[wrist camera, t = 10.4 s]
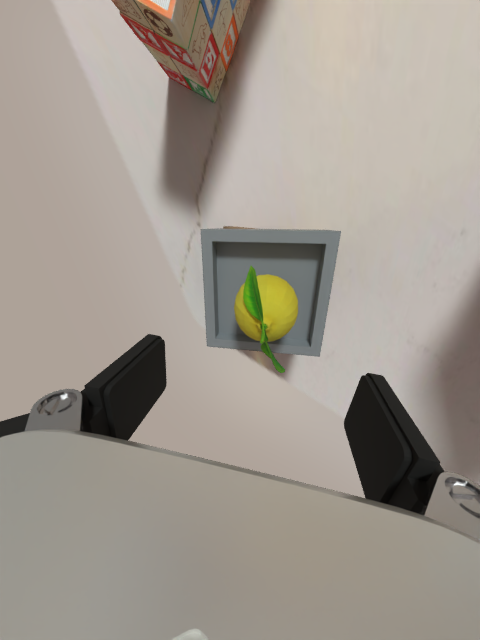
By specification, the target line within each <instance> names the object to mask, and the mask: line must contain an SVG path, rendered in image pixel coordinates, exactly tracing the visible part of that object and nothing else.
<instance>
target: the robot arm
mask: <svg viewBox="0 0 480 640" xmlns="http://www.w3.org/2000/svg"><path fill="white" fill-rule="evenodd" d="M165 387H166V362H165V342H164V340H162V338H161V337H160V336H156V335H151V334H148V335H147V336H145V338H143V339H142V340H140V341H139V342H138V343H137V344H135V345H134V346H133V347H132V348H131V349H129V350H128V351H127V352H126V353H124V354H123V355H122V356H121V357H120V358H118V359H117V360H116V361H114V362H113V363H112V364H111V365H110V366H109V367H107V368H106V369H105V370H103V371H102V372H101V373H100V374H98V375H97V376H96V377H95V378H94V379H92V380H91V381H90V382H89V383H87V384H86V385H85V389H84V390H82V391H81V392H79V391H78V390H75V389H64V390H59V391H55V392H52V393H50V394H48V395H45V396H44V397H42V398H41V399H39V400H38V401H37V402H36V403H35V404H34V405H33V407H32V409H31V412H30V413H28V414H25V415H22V416H18V417H15V418H11V419H8V420H4V421H1V422H0V640H480V486H479V485H477V484H476V483H474V482H473V481H471V480H469V479H468V478H466V477H464V476H462V475H459V474H456V473H453V472H444V470H443V469H442V467H441V466H440V461H439V460H438V458H437V457H436V455H435V454H434V452H433V451H432V449H431V448H430V446H429V445H428V443H427V442H426V440H425V439H424V437H423V436H422V434H421V432H420V431H419V429H418V428H417V426H416V425H415V423H414V422H413V420H412V419H411V417H410V416H409V414H408V413H407V411H406V410H405V408H404V407H403V405H402V404H401V402H400V401H399V399H398V398H397V396H396V395H395V393H394V392H393V390H392V389H391V387H390V386H389V384H388V382H387V381H386V379H385V378H384V377H383V376H382V375H376V374H371V373H367V374H366V375H365V376H364V375H363V376H362V377H361V379H360V381H359V384H358V386H357V389H356V391H355V394H354V397H353V399H352V402H351V404H350V407H349V410H348V412H347V415H346V417H345V420H344V428H345V431H346V435H347V438H348V441H349V445H350V448H351V451H352V455H353V458H354V461H355V464H356V468H357V471H358V474H359V478H360V481H361V484H362V488H363V491H364V494H365V498H366V499H365V498H361V497H358V496H354V495H350V494H346V493H342V492H338V491H334V490H330V489H326V488H322V487H318V486H314V485H310V484H306V483H302V482H298V481H294V480H290V479H286V478H282V477H278V476H274V475H270V474H265V473H261V472H257V471H253V470H249V469H245V468H241V467H237V466H233V465H228V464H225V463H220V462H216V461H212V460H208V459H204V458H200V457H196V456H191V455H187V454H182V453H179V452H174V451H170V450H166V449H162V448H157V447H153V446H149V445H145V444H141V443H136V442H132V441H128V440H129V438H130V437H131V436H132V434H133V433H134V432H135V430H136V429H137V427H138V426H139V425H140V423H141V422H142V420H143V419H144V418H145V416H146V415H147V414H148V412H149V411H150V409H151V408H152V407H153V405H154V404H155V402H156V401H157V399H158V398H159V397H160V396H161V394H162V393H163V391H164V390H165Z"/></svg>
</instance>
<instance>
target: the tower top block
mask: <svg viewBox="0 0 480 640" xmlns="http://www.w3.org/2000/svg"><path fill="white" fill-rule="evenodd" d="M340 234H341V231H332V230H289V229H201V244H202V262H203V281H204V300H205V319H206V338H207V346H209V347H220V348H231V349H242V350H253V351H262V350H261V345H262V344H261V343H260V341H257V340H254V339H252V338H250V337H248V336H247V335H246V334H245V333H244V332H243V331H242V330H241V329H240V327H239V325H238V323H237V321H236V318H235V312H234V305H235V299H236V295H237V293H238V291H239V289H240V287H241V286H242V285H243V284H244V283H245V281H246V278H247V274H248V272H249V269H250V266H252V267H253V268H254V269H255V271H256V276H258V275H266V274H269V275H274V276H278V277H280V278H282V279H284V280H285V281H287V282H288V283H289V284H290V286H291V287H292V288H293V289H294V291H295V294H296V296H297V299H298V315H297V318H296V322H295V324H294V326H293V327H292V328H291V330H290V331H289V332H288V333H287V334H286V335H284V336H283V337H282V338H280V339H278V340H275V341H271V342H267V343H268V345H269V347H270V349H271V351H272V352H274V353H285V354H296V355H307V356H318V357H320V352H321V346H322V340H323V334H324V328H325V322H326V316H327V311H328V305H329V299H330V293H331V287H332V281H333V275H334V269H335V264H336V258H337V252H338V246H339V240H340ZM263 343H264V342H263Z"/></svg>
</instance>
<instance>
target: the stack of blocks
mask: <svg viewBox="0 0 480 640" xmlns="http://www.w3.org/2000/svg"><path fill="white" fill-rule="evenodd" d="M250 1H251V0H112V2H113V3H114V4H115V6H116V7H117V8H118V9H119V10H120V15H121V16H122V18H123V19H124V20H125V22H126V23H127V24H128V26H129V27H130V28H131V29H132V30H133V32H134V34H135V35H136V36H137V37H138V38H139V40H141V41H142V43H143V44H144V45H145V46H146V48H147V49H148V50H149V51H150V53H151V54H152V55H153V56H154V58H155V59H156V60H157V62H158V63H159V65H160V66H161V67H162V69H163V70H164V71H165V73H166V74H167V75H168V77H169V78H171V79H173V80H175V81H176V82H178V83H180V84H182V85H183V86H185V87H187V88H189V89H190V90H193V91H195V92H197V93H198V94H200V95H202V96H204V97H205V98H207V99H209V100H211V101H212V102H214V103H215V102H216V100H217V97H218V94H219V91H220V88H221V85H222V82H223V79H224V76H225V73H226V71H227V69H228V66H229V63H230V61H231V58H232V55H233V52H234V49H235V46H236V43H237V40H238V36H239V34H240V31H241V28H242V25H243V22H244V19H245V16H246V13H247V10H248V7H249V4H250Z"/></svg>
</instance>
